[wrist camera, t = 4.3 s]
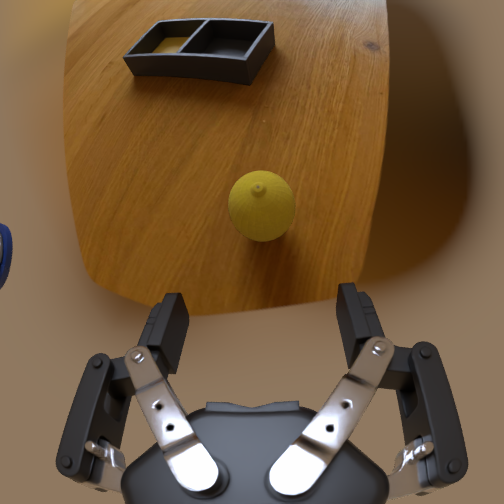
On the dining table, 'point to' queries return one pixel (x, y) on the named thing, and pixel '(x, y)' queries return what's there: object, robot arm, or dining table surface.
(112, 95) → the dining table surface
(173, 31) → the sorter
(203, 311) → the dining table surface
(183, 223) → the dining table surface
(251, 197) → the lemon
